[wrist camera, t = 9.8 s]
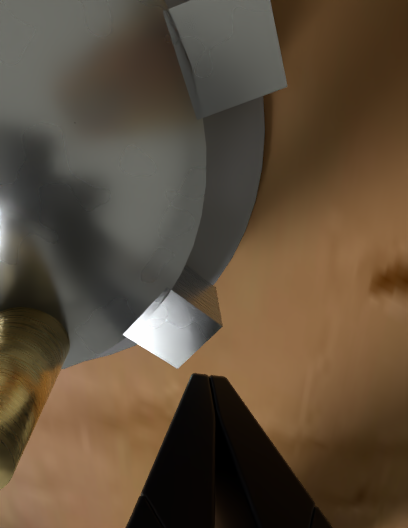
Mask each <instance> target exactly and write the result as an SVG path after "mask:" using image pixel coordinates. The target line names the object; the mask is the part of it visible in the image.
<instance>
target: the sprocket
mask: <svg viewBox="0 0 408 528" xmlns="http://www.w3.org/2000/svg"><path fill="white" fill-rule="evenodd" d="M285 87H287V82H286V77H285V72H284V67H283V62H282V57H281V52H280V47H279V42H278V37H277V32H276V27H275V22H274V17H273V12H272V7H271V2H270V0H190V1H187V2H185V3H182V4H180V5H178V6H175V7H173V8H170V9H169V8H168V6H167V4H166V2H165V0H0V490H1V489H2V488H3V487H5V486H6V485H7V484H8V482H9V481H10V479H11V478H12V476H13V473H14V471H15V469H16V467H17V465H18V462H19V460H20V458H21V456H22V454H23V451H24V449H25V447H26V445H27V443H28V440H29V438H30V436H31V434H32V432H33V429H34V427H35V425H36V423H37V421H38V419H39V416H40V414H41V412H42V410H43V408H44V405H45V403H46V401H47V399H48V397H49V394H50V392H51V390H52V388H53V386H54V383H55V381H56V379H57V377H58V375H59V372H60V370H61V369H65V368H67V367H70V366H73V365H75V364H78V363H81V362H83V361H86V360H89V359H91V358H93V357H94V356H96V355H98V354H100V353H102V352H104V351H106V350H108V349H110V348H112V347H113V346H114V345H116V344H117V343H119V342H120V341H122V340H123V339H125V338H126V337H127V338H129V339H130V340H132V341H134V342H135V343H137V344H138V345H140V346H142V347H143V348H145V349H147V350H148V351H150V352H151V353H153V354H155V355H156V356H158V357H159V358H161V359H163V360H164V361H166V362H168V363H169V364H171V365H172V366H174V367H176V368H177V369H178V368H179V367H180V366H181V365H182V364H183V363H184V362H185V361H186V360H187V359H188V358H190V357H191V356H192V355H193V354H194V353H195V352H196V351H197V350H198V349H199V348H200V347H201V346H202V345H203V344H204V343H205V342H206V341H208V340H209V339H210V338H211V337H212V336H213V335H214V334H215V333H216V332H217V331H218V330H219V329H220V328H221V327H222V320H221V314H220V309H219V303H218V297H217V291H216V287H214V286H213V285H212V284H210V283H209V282H208V281H206V280H205V279H204V278H202V277H201V276H200V275H198V274H197V273H196V272H194V271H193V270H192V269H190V268H189V267H188V266H186V265H185V264H186V262H187V259H188V257H189V255H190V252H191V250H192V248H193V245H194V242H195V238H196V234H197V231H198V227H199V224H200V220H201V216H202V209H203V202H204V195H205V187H206V140H205V132H204V124H203V118H204V117H207V116H210V115H212V114H215V113H218V112H220V111H223V110H226V109H229V108H231V107H234V106H237V105H239V104H242V103H245V102H247V101H250V100H253V99H256V98H258V97H261V96H264V95H266V94H269V93H272V92H275V91H277V90H280V89H283V88H285Z"/></svg>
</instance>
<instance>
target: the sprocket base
mask: <svg viewBox="0 0 408 528" xmlns="http://www.w3.org/2000/svg"><path fill="white" fill-rule="evenodd" d="M187 1H190V0H165V2H166V4H167V6H168V8H169V9H170V8H173V7H175V6H178V5H180V4H182V3H185V2H187ZM203 124H204V132H205V140H206V187H205V195H204V202H203V209H202V216H201V220H200V224H199V227H198V231H197V234H196V238H195V242H194V245H193V248H192V250H191V252H190V255H189V257H188V259H187V262H186V264H185V265H186V266H188V267H189V268H190V269H192V270H193V271H194V272H196V273H197V274H198V275H200V276H201V277H202V278H204V279H205V280H206V281H208V282H209V283H210V284H212V285H214V284H215V282H216V281H217V280H218V278H219V277H220V275H221V274H222V272H223V271H224V269H225V268H226V266H227V265H228V263H229V262H230V260H231V259H232V257H233V255H234V253H235V251H236V249H237V247H238V245H239V243H240V241H241V239H242V237H243V235H244V233H245V230H246V227H247V224H248V221H249V218H250V215H251V213H252V210H253V207H254V204H255V201H256V196H257V191H258V186H259V181H260V176H261V171H262V163H263V149H264V136H265V123H264V102H263V96H261V97H258V98H256V99H253V100H250V101H247V102H245V103H242V104H239V105H237V106H234V107H231V108H229V109H226V110H223V111H220V112H218V113H215V114H212V115H210V116H207V117H204V118H203ZM135 345H137V343H135V342H134V341H132V340H130V339H129V338H127V337H126V338H125V339H123V340H122V341H120V342H119V343H117V344H116V345H114V346H113V347H112V348H110V349H108V350H106V351H104V352H102V353H100V354H98V355H96V356H94V357H93V358H91V359H95V358H99V357H103V356H107V355H111V354H114V353H116V352H119V351H122V350H124V349H127V348H130V347H132V346H135ZM91 359H89V360H91ZM86 361H87V360H86Z"/></svg>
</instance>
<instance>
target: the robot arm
mask: <svg viewBox="0 0 408 528" xmlns="http://www.w3.org/2000/svg"><path fill="white" fill-rule="evenodd" d="M126 528H332V526H331V525H330V523H329V522H328V521H327V519H326V518H325V516H324V515H323V513H322V512H321V511H320V509H319V508H318V507H315V503H314V501H313V500H312V498H311V497H310V495H309V494H308V493H307V491H306V490H305V488H304V487H303V485H302V484H301V483H300V481H299V480H298V478H297V477H296V476H295V474H294V473H293V471H292V470H291V469H290V467H289V466H288V464H287V463H286V461H285V460H284V459H283V457H282V456H281V454H280V453H279V452H278V450H277V449H276V447H275V446H274V445H273V443H272V442H271V440H270V439H269V437H268V436H267V435H266V433H265V432H264V430H263V429H262V428H261V426H260V425H259V423H258V422H257V420H256V419H255V418H254V416H253V415H252V413H251V412H250V411H249V409H248V408H247V406H246V405H245V404H244V402H243V401H242V399H241V398H240V396H239V395H238V394H237V392H236V391H235V389H234V388H233V387H232V385H231V384H230V382H229V381H228V380H227V378H225V377H223V376H215V375H211V376H208V375H206V374H197V373H193V374H192V375H191V377H190V380H189V382H188V384H187V387H186V389H185V391H184V394H183V396H182V398H181V401H180V403H179V405H178V408H177V410H176V412H175V415H174V417H173V419H172V422H171V424H170V426H169V429H168V431H167V433H166V436H165V438H164V441H163V443H162V445H161V448H160V450H159V452H158V455H157V457H156V459H155V462H154V464H153V466H152V469H151V471H150V473H149V476H148V478H147V480H146V483H145V485H144V487H143V490H142V492H141V496H140V497H139V498H138V501H137V503H136V506H135V508H134V510H133V513H132V515H131V517H130V519H129V521H128V524H127V526H126Z"/></svg>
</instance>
